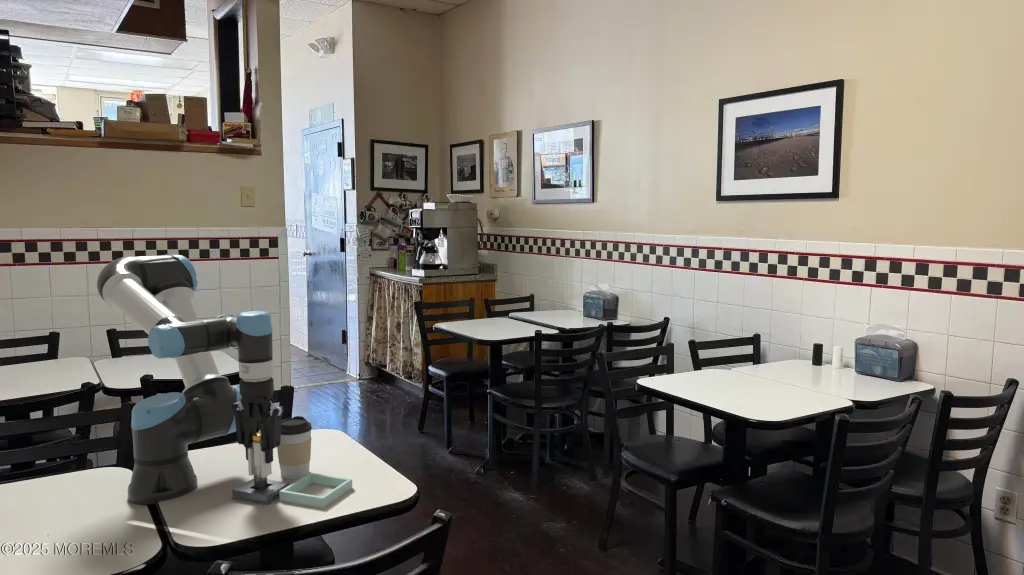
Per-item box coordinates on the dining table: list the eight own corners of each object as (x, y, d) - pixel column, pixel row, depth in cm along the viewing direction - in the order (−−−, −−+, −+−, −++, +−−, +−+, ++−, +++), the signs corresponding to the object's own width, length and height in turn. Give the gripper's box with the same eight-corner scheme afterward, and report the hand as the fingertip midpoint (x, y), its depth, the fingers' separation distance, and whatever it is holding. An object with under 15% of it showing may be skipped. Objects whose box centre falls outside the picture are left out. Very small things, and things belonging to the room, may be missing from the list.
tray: (279, 503, 160) (279, 491, 160) (311, 484, 172) (310, 472, 171) (323, 511, 156) (323, 498, 156) (352, 490, 168) (352, 479, 167)
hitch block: (232, 502, 161) (232, 489, 161) (256, 489, 169) (255, 477, 168) (267, 508, 158) (267, 495, 158) (289, 494, 165) (289, 482, 165)
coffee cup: (302, 484, 171) (300, 426, 170) (269, 481, 173) (267, 424, 172) (319, 471, 180) (317, 415, 179) (288, 468, 182) (286, 413, 180)
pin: (251, 492, 162) (249, 435, 161) (260, 488, 165) (257, 431, 164) (261, 494, 161) (259, 437, 160) (270, 489, 164) (268, 433, 163)
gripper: (217, 378, 159) (221, 475, 162) (274, 384, 154) (277, 485, 157) (240, 371, 166) (243, 464, 169) (295, 377, 161) (298, 473, 164)
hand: (260, 474), depth 163 cm, fingers closed on pin, 3 cm apart
